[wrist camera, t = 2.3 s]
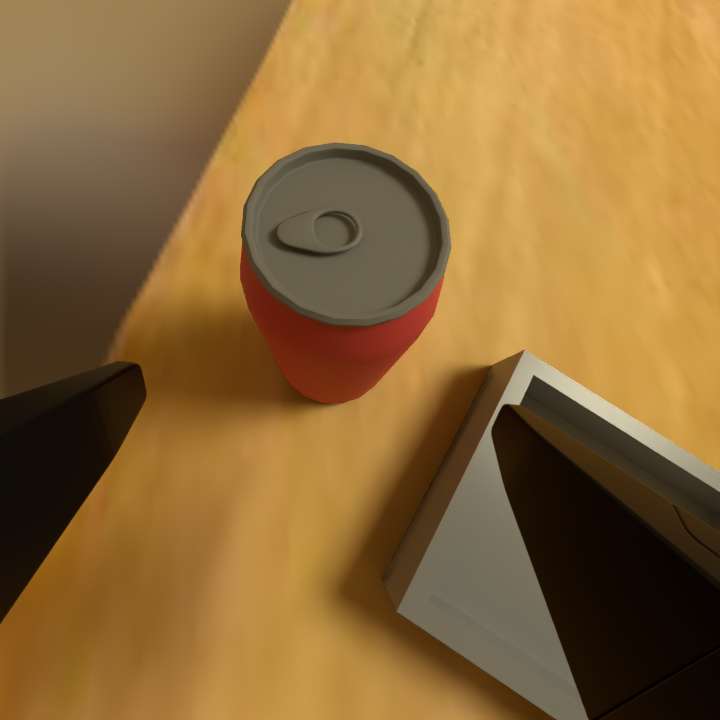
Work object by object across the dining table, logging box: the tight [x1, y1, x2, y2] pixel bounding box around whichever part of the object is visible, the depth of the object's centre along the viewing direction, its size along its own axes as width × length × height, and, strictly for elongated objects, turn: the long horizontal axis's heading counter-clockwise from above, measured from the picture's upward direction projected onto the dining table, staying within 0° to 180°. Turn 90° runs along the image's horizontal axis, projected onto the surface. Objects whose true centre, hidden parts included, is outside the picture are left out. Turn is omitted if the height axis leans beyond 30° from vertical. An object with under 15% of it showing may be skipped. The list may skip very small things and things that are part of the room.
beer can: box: [240, 143, 451, 403], centre depth 14 cm, size 7×7×12 cm
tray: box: [382, 350, 720, 720], centre depth 17 cm, size 14×16×4 cm
